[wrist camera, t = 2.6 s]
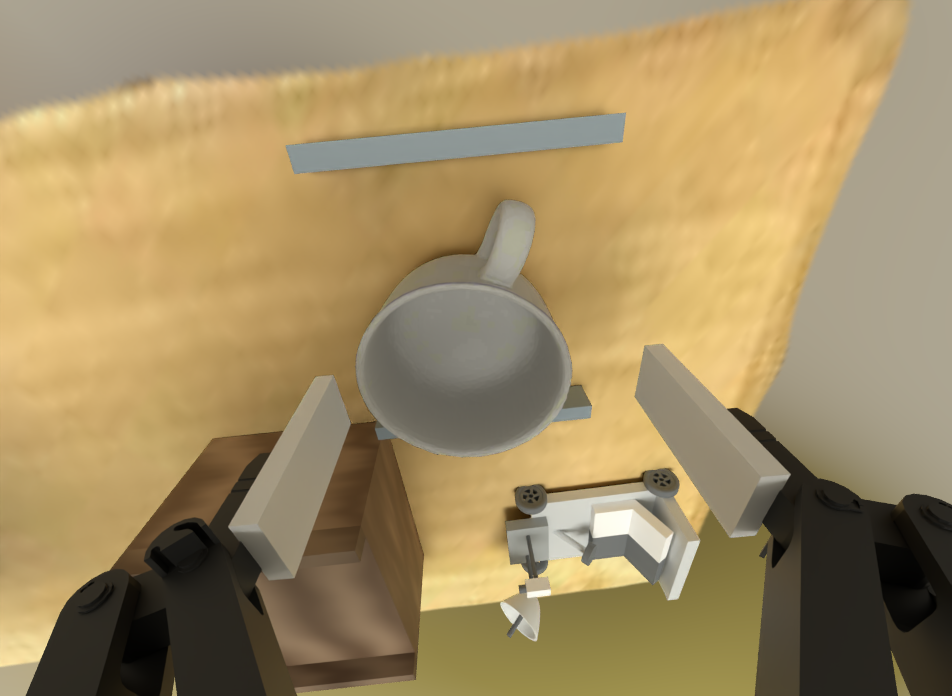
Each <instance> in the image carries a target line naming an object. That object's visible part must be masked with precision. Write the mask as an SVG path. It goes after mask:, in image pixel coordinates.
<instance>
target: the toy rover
mask: <svg viewBox="0 0 952 696" xmlns="http://www.w3.org/2000/svg"><path fill="white" fill-rule="evenodd" d="M678 489H679V480H678V478H677V477H676V475H675V474H674V473H673V472H671V471H670V470H668V469H658V470H649V471H645V473H644V477H643V482H638V483H630V484H622V485H614V486H606V487H598V488H590V489H582V490H574V491H566V492H558V493H550V494H546V491H545V490H544V488H543V487H542V486H540V485H532V486H522V487H518V488H517V490H516V492H515V502H516V505H517V507H518V508H519V510H520V511H522V512H523V513H525V514H529V515H530V518H528V519H520V520H512V521H505V524H506V532H507V540H508V549H509V557H510V564H511V565H512V564H520V563H521V565H522V567H523V569H524V570H525V571H526V572H528V574H529V579H525V585H519V592H520V593H519V594H516V595H513V596H511V597H509V598H508V599H506V600H504V601H502V602H501V608H502V610H503V612H504V613H505V615H506V616H507V618H508V619H509V620H510V622H511V623H512V624H513V625H512V627H511V628H510V630H509V631H508V633H507V635H508V637H510V638H511V636H512V635H513V633H514V631H515V630H516V628H517V629H518V630H519V631H520V632H521V633H522V634H524V635H525V636H526V637H528V638H529V639H531V640H534V641H536V640H537V637H538V631H539V623H540V606H539V602H538V599H537V597H540V596H548V595H551V589H550V584H549V579H548V577H541V578H538V575H539V574H541V573H543V572H544V571H545V570H546V568H547V566H548V560H554V559H562V558H570V557H579V556H582V560H581V562H583V563H584V564H586V565H587V566H589V565H590V563H591V562H592V560H594V559H602V558H610V557H619V556H624V557H625V558H626V559H627V560H628V561H629V562H630V563H631V564H632V565H633V566H634V567H635V568H636V569H637V570H638V571H639V572H640V573H641V574H642V575H643V576H644V577H645V578H646V579H647V580H648V581H649V582H650V583H651V584H652V585H654V584H655V583H656V582H657V581H658V580H659V583H660V585H661V587H662V589H663V591H664V593H665V595H666V597H667V600H673V599H678V598H679V595H680V592H681V589H682V587H683V585H684V582H685V579H686V576H687V574H688V571H689V569H690V566H691V563H692V561H693V558H694V556H695V553H696V550H697V548H698V545H699V542H700V539H699V537H698V536H697V534H696V532H695V531H694V529H693V528H692V526H691V524H690V523H689V521H688V519H687V518H686V516H685V515H684V513H683V511H682V510H681V508H680V506H679V505H678V503H677V502H676V500H675V498H674V497H673V496H675V495H676V494H677V492H678ZM524 499H525V500H524ZM538 561H540V563H539V562H538ZM533 577H534V578H533Z"/></svg>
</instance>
